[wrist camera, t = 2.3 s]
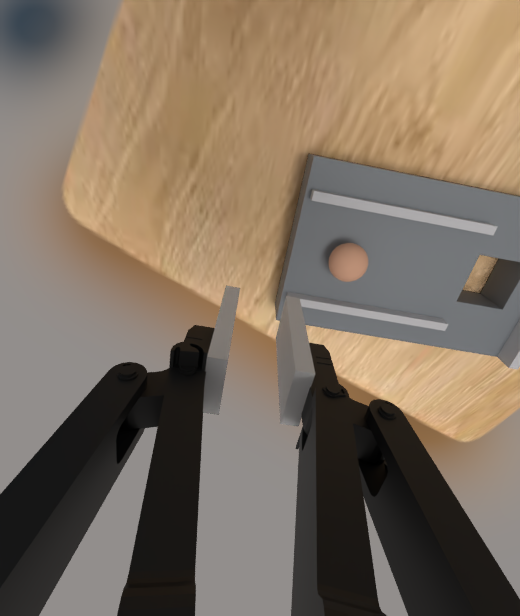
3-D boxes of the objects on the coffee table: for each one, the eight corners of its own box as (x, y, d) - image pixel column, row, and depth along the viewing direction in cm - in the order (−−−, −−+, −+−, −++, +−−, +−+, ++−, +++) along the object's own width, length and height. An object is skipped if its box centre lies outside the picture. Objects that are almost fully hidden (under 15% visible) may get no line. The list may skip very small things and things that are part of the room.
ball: (331, 235, 31) (338, 246, 28) (367, 241, 31) (378, 253, 28) (321, 270, 33) (327, 284, 30) (356, 276, 33) (365, 291, 30)
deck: (308, 153, 32) (317, 156, 26) (563, 204, 33) (619, 217, 28) (275, 303, 39) (276, 329, 34) (486, 338, 41) (519, 369, 35)
